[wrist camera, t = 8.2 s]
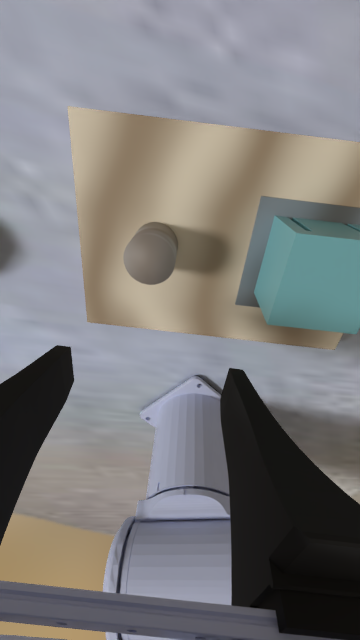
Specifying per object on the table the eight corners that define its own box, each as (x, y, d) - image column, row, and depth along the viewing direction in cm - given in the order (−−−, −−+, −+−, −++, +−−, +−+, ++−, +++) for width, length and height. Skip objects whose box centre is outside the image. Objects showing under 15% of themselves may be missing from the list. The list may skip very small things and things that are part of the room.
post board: (416, 151, 15) (490, 151, 11) (326, 338, 22) (353, 377, 18) (78, 109, 15) (38, 96, 11) (93, 312, 22) (72, 346, 18)
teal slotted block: (359, 225, 16) (404, 245, 12) (326, 300, 18) (356, 334, 15) (274, 215, 16) (296, 233, 12) (253, 292, 18) (267, 324, 15)
